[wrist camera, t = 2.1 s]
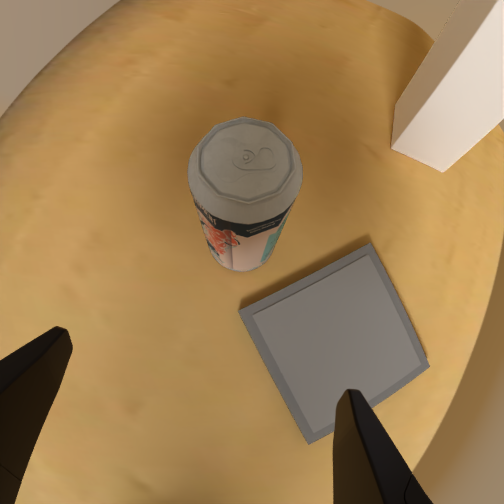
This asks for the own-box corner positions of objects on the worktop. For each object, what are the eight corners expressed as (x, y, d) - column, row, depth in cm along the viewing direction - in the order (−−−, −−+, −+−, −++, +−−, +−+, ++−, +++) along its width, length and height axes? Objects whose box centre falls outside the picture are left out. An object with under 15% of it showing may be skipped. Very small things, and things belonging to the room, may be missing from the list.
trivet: (306, 441, 20) (308, 445, 20) (238, 311, 23) (237, 310, 22) (424, 365, 22) (430, 366, 21) (366, 245, 24) (370, 242, 23)
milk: (389, 149, 26) (522, -44, 5) (394, 104, 28) (493, -69, 6) (443, 174, 26) (596, 25, 5) (444, 128, 28) (561, -17, 6)
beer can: (208, 211, 24) (186, 112, 13) (271, 208, 24) (298, 108, 13) (210, 274, 23) (183, 218, 11) (276, 271, 23) (315, 211, 12)
